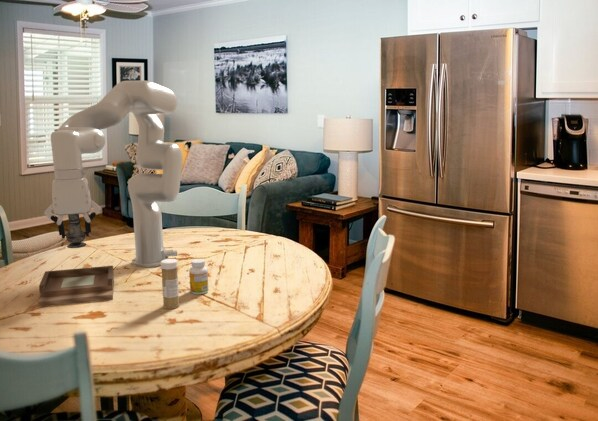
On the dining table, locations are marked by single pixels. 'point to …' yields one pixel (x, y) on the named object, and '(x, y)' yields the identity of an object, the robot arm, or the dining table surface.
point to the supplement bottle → (198, 277)
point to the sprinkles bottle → (170, 283)
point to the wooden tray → (76, 286)
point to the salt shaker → (75, 232)
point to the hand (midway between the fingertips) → (75, 235)
